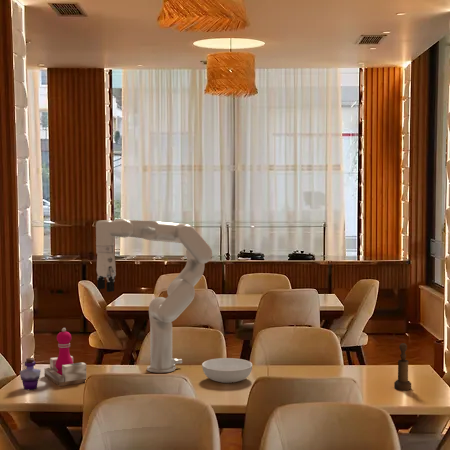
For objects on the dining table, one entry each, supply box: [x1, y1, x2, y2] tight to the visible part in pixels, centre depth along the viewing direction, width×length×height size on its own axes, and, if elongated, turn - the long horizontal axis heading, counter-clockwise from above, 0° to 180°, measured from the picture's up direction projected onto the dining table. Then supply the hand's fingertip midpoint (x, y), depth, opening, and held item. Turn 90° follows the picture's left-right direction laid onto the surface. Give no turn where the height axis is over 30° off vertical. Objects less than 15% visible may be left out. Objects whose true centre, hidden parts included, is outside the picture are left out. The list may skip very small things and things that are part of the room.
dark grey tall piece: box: [393, 342, 412, 391], centre depth 304 cm, size 7×6×18 cm
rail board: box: [44, 355, 87, 387], centre depth 319 cm, size 12×18×8 cm, turn 32°
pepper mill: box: [56, 327, 74, 375], centre depth 319 cm, size 7×7×20 cm
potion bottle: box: [19, 357, 41, 391], centre depth 305 cm, size 9×9×12 cm
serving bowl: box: [201, 357, 253, 384], centre depth 318 cm, size 21×21×7 cm
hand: (105, 290), depth 324 cm, fingers open, 9 cm apart
